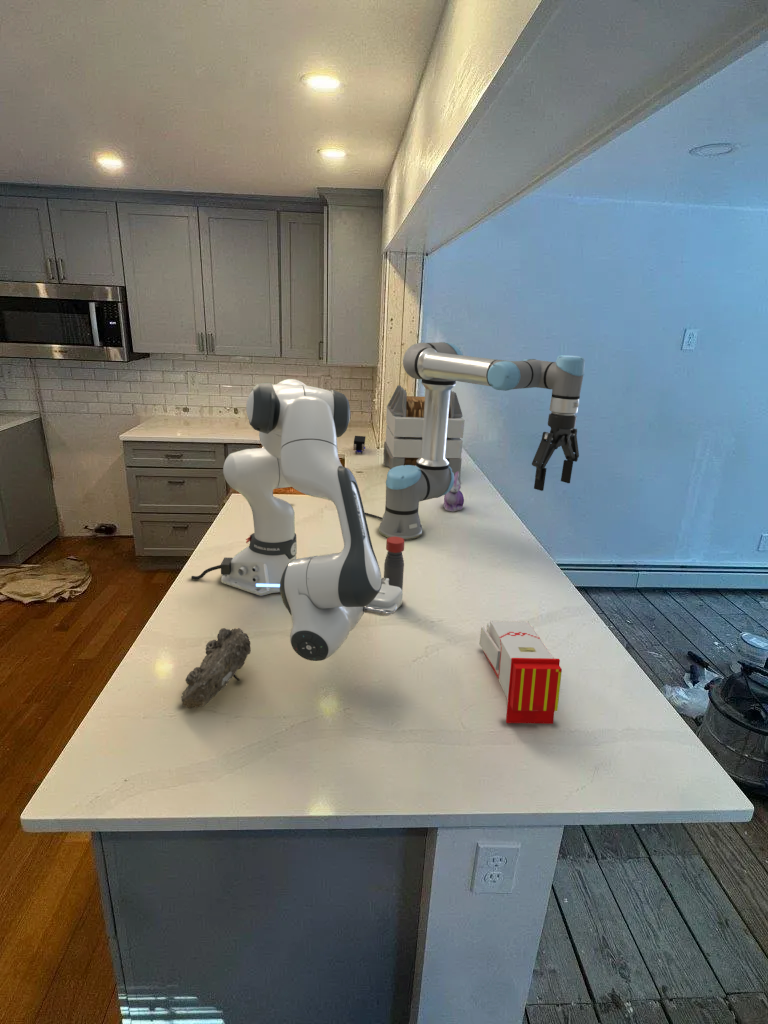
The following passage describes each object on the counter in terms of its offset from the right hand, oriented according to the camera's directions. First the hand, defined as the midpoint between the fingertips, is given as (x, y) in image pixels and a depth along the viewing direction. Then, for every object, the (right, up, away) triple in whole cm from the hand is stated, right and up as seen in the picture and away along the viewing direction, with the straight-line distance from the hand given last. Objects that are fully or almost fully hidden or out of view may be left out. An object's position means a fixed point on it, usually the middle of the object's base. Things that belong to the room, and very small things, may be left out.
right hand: (552, 485), depth 166 cm
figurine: (-21, -6, +63) cm, 66 cm away
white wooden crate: (-32, +11, +109) cm, 115 cm away
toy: (-21, -44, -43) cm, 65 cm away
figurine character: (-63, +25, +145) cm, 160 cm away
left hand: (-53, -22, -40) cm, 70 cm away
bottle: (-47, -32, -13) cm, 59 cm away
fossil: (-83, -43, -47) cm, 105 cm away
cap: (-46, -15, -19) cm, 52 cm away
